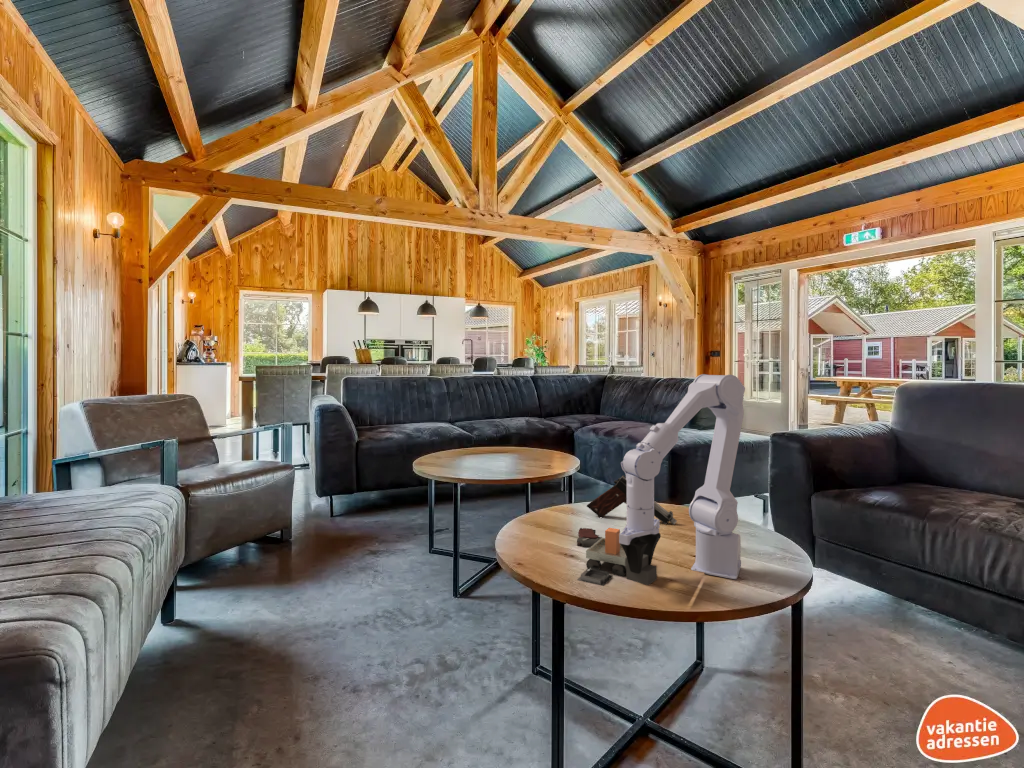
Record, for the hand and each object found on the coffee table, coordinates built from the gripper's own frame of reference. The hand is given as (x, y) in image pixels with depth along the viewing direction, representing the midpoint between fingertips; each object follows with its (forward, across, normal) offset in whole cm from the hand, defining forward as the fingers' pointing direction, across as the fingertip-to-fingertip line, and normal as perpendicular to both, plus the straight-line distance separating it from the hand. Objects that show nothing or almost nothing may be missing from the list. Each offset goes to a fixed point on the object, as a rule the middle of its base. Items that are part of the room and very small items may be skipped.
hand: (640, 568), depth 110 cm
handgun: (+3, +38, +23) cm, 45 cm away
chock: (+2, 0, 0) cm, 2 cm away
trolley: (+3, +3, +8) cm, 9 cm away
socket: (+3, -6, +8) cm, 10 cm away
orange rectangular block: (-1, +2, +8) cm, 9 cm away
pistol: (+3, +16, +18) cm, 25 cm away
